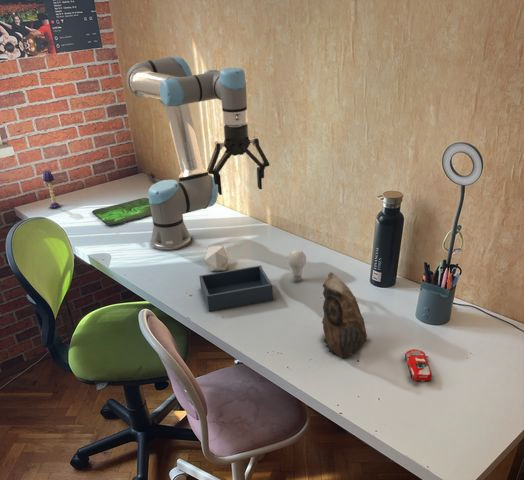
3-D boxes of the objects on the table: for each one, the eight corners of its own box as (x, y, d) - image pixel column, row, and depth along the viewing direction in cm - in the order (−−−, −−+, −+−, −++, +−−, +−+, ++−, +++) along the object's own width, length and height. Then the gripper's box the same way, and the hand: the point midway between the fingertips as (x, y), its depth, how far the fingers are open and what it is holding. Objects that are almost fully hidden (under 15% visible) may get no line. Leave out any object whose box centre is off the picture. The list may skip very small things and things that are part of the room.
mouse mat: (146, 197, 266) (145, 195, 265) (167, 211, 251) (166, 209, 250) (90, 212, 254) (90, 210, 253) (109, 227, 239) (108, 225, 238)
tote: (201, 290, 191) (199, 275, 188) (261, 279, 195) (260, 265, 192) (209, 311, 180) (207, 296, 176) (273, 299, 183) (272, 284, 180)
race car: (403, 355, 156) (404, 343, 153) (423, 354, 155) (425, 342, 153) (411, 385, 145) (412, 372, 143) (432, 385, 145) (434, 372, 142)
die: (220, 278, 198) (234, 253, 196) (198, 266, 197) (211, 240, 195) (222, 275, 207) (235, 251, 204) (200, 263, 206) (213, 239, 203)
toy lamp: (60, 204, 265) (51, 168, 255) (61, 207, 261) (52, 171, 252) (50, 206, 263) (40, 170, 254) (51, 209, 260) (41, 173, 250)
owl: (344, 362, 154) (346, 298, 143) (307, 346, 161) (306, 284, 150) (369, 341, 162) (373, 279, 150) (332, 326, 169) (334, 266, 157)
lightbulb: (308, 277, 195) (308, 248, 188) (303, 285, 190) (303, 255, 184) (291, 275, 196) (290, 246, 190) (286, 283, 192) (285, 254, 185)
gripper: (198, 131, 170) (205, 200, 182) (277, 122, 175) (279, 189, 187) (193, 125, 176) (200, 192, 188) (270, 116, 180) (272, 181, 193)
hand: (240, 190), depth 188 cm, fingers open, 13 cm apart
